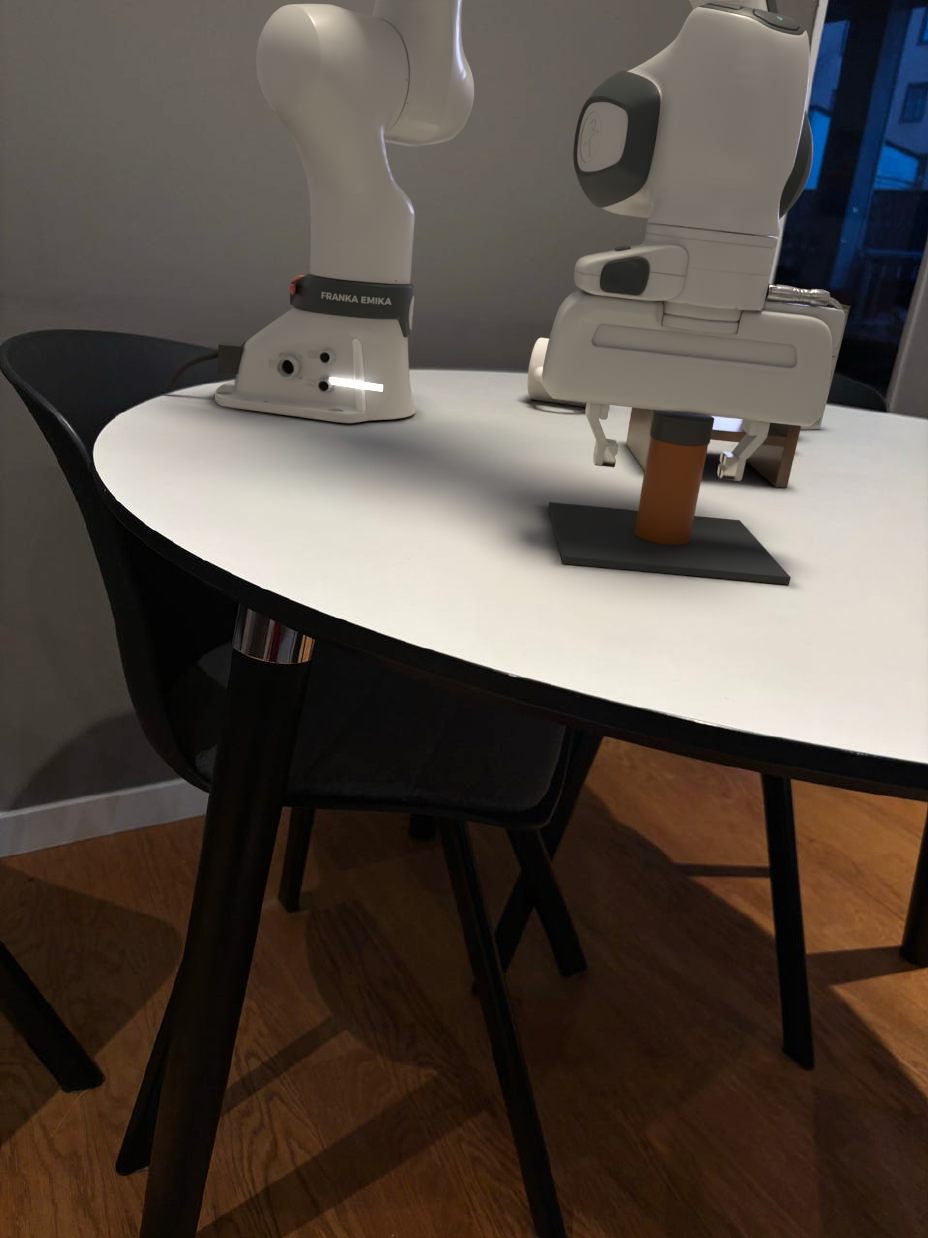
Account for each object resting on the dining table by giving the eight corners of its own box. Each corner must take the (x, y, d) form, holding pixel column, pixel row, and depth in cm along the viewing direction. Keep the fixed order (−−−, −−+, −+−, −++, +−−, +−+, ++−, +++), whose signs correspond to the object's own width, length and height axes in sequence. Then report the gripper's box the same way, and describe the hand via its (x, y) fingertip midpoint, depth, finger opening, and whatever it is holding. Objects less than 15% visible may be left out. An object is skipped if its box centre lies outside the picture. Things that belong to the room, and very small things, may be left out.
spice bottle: (637, 542, 72) (659, 417, 69) (628, 525, 76) (648, 405, 73) (696, 548, 73) (720, 423, 69) (684, 530, 77) (706, 411, 73)
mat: (562, 563, 68) (563, 555, 68) (547, 508, 81) (548, 501, 81) (789, 585, 69) (791, 577, 68) (738, 526, 82) (739, 519, 81)
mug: (538, 394, 135) (545, 334, 132) (609, 405, 133) (618, 344, 130) (516, 407, 124) (524, 342, 121) (593, 418, 122) (603, 353, 119)
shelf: (647, 475, 96) (666, 367, 92) (625, 443, 110) (640, 347, 106) (788, 489, 96) (813, 382, 92) (748, 455, 110) (768, 360, 106)
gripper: (835, 289, 71) (791, 475, 76) (555, 257, 70) (529, 447, 75) (868, 296, 65) (817, 497, 70) (562, 262, 64) (534, 467, 70)
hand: (666, 471), depth 73 cm, fingers open, 8 cm apart
